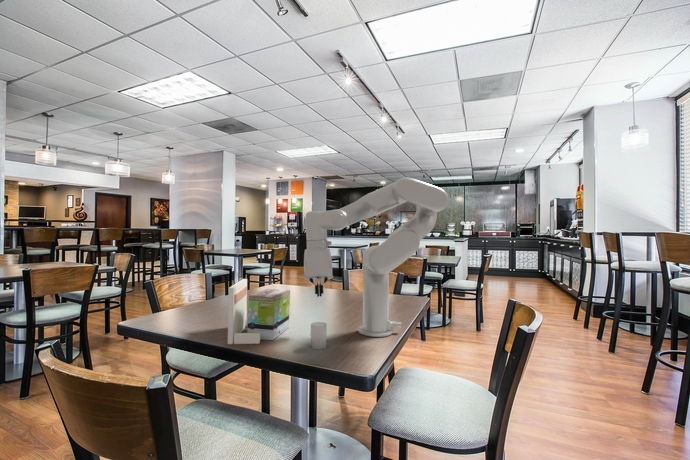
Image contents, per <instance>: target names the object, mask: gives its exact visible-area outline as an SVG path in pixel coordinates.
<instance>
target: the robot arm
mask: <svg viewBox="0 0 690 460" xmlns="http://www.w3.org/2000/svg"><path fill="white" fill-rule="evenodd" d="M449 200H450V199H449V195H448V193H447V192H446V191H445V189H443V188H441V187H438V186H436V185H433V184H430V183H427V182H425V181H421V180H419V179H415V178H413V177H407V176H405V177H400V178H399V179H398V180H396V181H394V182H392V183H390V184H389V183H388V185H385V186H382V187H380V188H378V189H376V190H374V191H372V192H371V191H370V192H369V193H367V194H365V195H363V196H362V197H359V199H356V201H353V202H351V203H350V204H348V205H345V206H343V207H341V208H339V209H330V210H324V211H323V210H311V211H308V212H306V214H305V234H306V236H305V237H306V249H304V254H303V274H304V275H303V280H304V281H307V282H311V283H312V284H313V285H314V294H315V295H316V297H317V298H319V297H322V296H323V294H324V285H325V283H326V282H328V281H329V280H332V279H334V275H333V274H334V273H333V261H332V260H333V259H332V255H331V249H330V247H329V246H332V241H328V231H329V230H331V231H341V230H343V229H344V228H347V227H349V226H351V225H353V224H356V223H358V222H361V221H363V220H366V219H370V218H373V217H375V216H378V215H380V214H382V213H384V212H387V211H389V210H391V209H394V208H396V207H398V206H400V205H403V204H404V203H407V202H408V203H410V204H412V205H415V206H416V210H415V214H414V215H413V216H412V217H411V218H410V219H409V220H407V221H406V222H405V223H403V224H402V225H400V226H399V227H398V228H396V229H394V230H393V231H392V232H390V233H389V235H388V237H387V239H386V240H385V241H384V242H382V243H381V244H379V245H372V246H369V247H368V248H367V249H366V250H365V251H364V253H363V255H362V261H361V262H362V276H363V277H362V278H363V279H362V281H363V282H362V286H363V287H362V325H360V326H359V327H358V329H357V331H358V333H359V334H361V335H363V336H366V337H374V338H383V337H388V336H391V335H392V334H393V333H394V330H393V329H394V328H397V329H398V328H399V329H400V328H401V329H402V328H403V327H402V326H403V323H402V321H396V320H392V321H391V320H390V317H389V316H390V314H389V313H390V274H389V273H390V272H392V271H394V270H395V269H396V268H397V267H400V266H401V265H402V264H403V263H404V262H406V261H408V260H409V259H410V258H411V257H412V256H414V254H415V253H416V252H418V250H419V248H420V243H421V241H422V240H423V239H424V238H426V236H428V234H430V233H431V232H432V230H433V229H434V228H435V226H436V223H437V216H438V213H439V212H442V211H444V210H445V209H446V208H447V206H448V205H449ZM328 247H329V248H328ZM319 277H320V282H319V283H318V279H317V278H319Z"/></svg>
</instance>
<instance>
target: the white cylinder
mask: <svg viewBox="0 0 690 460" xmlns="http://www.w3.org/2000/svg"><path fill="white" fill-rule="evenodd" d="M310 348H311V349H315V350H322V349H325V348H327V323H326V322H321V321H318V322H317V321H316V322H315V321H314V322H312V323H311V324H310Z"/></svg>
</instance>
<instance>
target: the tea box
mask: <svg viewBox="0 0 690 460" xmlns="http://www.w3.org/2000/svg"><path fill="white" fill-rule="evenodd" d="M290 301H291V290H289V289H276V288H275V289H274V288H273V289H272V288H270V289H269V288H266V289H262V290H260V291H258V292H255V293H251V294H249V295H248V305H247V318H248V327H247V329H246V331H247V332H246V333H260V340H264V341H265V340H267V341H274V340H275V339H276V338H277V337H279V336H281V334H283V333H284V332H285V331H287V330H288V329H290V328H289V327H290V306H291V305H290V303H291V302H290Z"/></svg>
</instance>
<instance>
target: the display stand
mask: <svg viewBox="0 0 690 460" xmlns="http://www.w3.org/2000/svg"><path fill="white" fill-rule="evenodd" d="M227 302H228V306H227V308H228V309H227V310H228V314H227V345H233V344H234V345H246V344H247V345H248V344H249V345H252V344H253V345H254V344H255V345H258V344H261V339H260V333H247V332H243V331H244V330H245V328H246V327H247V328H248V304H247V303H248V278H242V279H241V280H239V281H238V282H236V283H234V284H232V285H231V286H229V287H228V301H227Z"/></svg>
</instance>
